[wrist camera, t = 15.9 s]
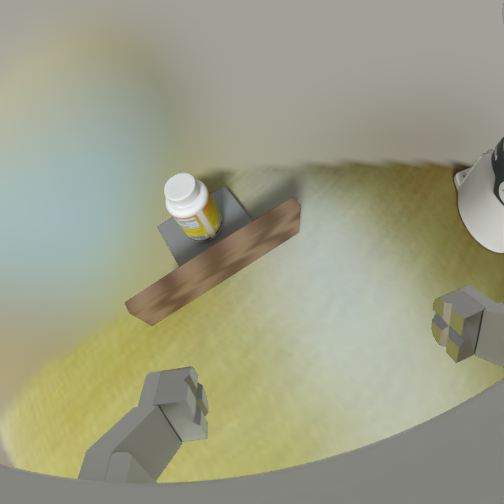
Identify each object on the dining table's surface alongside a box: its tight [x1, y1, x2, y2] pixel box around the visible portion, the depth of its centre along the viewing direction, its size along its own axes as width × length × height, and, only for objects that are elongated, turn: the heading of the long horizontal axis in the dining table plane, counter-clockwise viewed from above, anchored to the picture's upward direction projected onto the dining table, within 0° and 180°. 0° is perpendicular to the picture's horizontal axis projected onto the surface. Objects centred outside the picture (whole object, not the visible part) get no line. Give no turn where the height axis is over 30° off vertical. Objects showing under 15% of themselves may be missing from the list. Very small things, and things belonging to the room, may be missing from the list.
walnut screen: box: [125, 197, 301, 326], centre depth 39 cm, size 24×2×7 cm, turn 123°
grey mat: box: [158, 186, 253, 267], centre depth 45 cm, size 12×9×1 cm
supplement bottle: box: [164, 173, 222, 242], centre depth 40 cm, size 6×6×10 cm
